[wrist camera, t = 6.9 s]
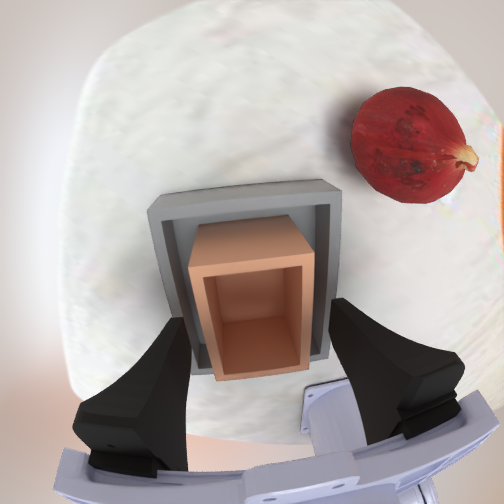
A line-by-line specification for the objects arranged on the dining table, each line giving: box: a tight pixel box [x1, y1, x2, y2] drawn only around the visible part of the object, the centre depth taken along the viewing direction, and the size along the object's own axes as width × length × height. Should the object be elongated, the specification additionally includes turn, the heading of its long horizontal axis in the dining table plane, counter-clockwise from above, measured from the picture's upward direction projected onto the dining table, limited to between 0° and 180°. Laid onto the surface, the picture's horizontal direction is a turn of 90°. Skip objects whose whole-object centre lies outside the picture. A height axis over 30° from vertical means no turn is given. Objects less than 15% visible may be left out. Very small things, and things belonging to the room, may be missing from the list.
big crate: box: [147, 179, 342, 375], centre depth 16 cm, size 11×9×3 cm
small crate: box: [188, 215, 314, 381], centre depth 15 cm, size 7×5×5 cm
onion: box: [350, 87, 479, 204], centre depth 11 cm, size 6×6×8 cm
